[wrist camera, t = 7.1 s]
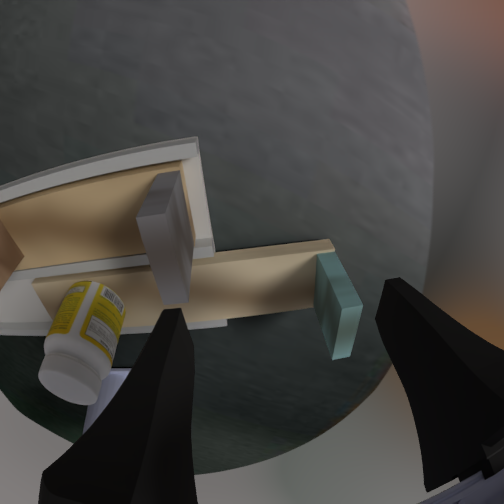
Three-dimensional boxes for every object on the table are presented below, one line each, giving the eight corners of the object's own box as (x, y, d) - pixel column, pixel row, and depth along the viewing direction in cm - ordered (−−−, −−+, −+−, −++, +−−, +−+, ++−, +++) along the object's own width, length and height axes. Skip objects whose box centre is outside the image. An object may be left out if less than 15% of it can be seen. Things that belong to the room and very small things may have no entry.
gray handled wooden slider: (195, 235, 19) (189, 305, 14) (-30, 269, 18) (-62, 316, 13) (181, 159, 16) (163, 208, 11) (-52, 222, 15) (-92, 265, 10)
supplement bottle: (73, 306, 21) (38, 392, 15) (72, 262, 19) (24, 356, 12) (126, 322, 23) (103, 415, 16) (133, 281, 20) (102, 384, 13)
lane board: (226, 311, 24) (227, 325, 22) (3, 324, 23) (-2, 334, 22) (197, 136, 16) (195, 142, 15) (-57, 210, 15) (-67, 219, 14)
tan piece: (324, 294, 23) (349, 357, 18) (62, 319, 22) (40, 377, 17) (329, 238, 20) (363, 302, 15) (37, 274, 19) (4, 332, 14)
